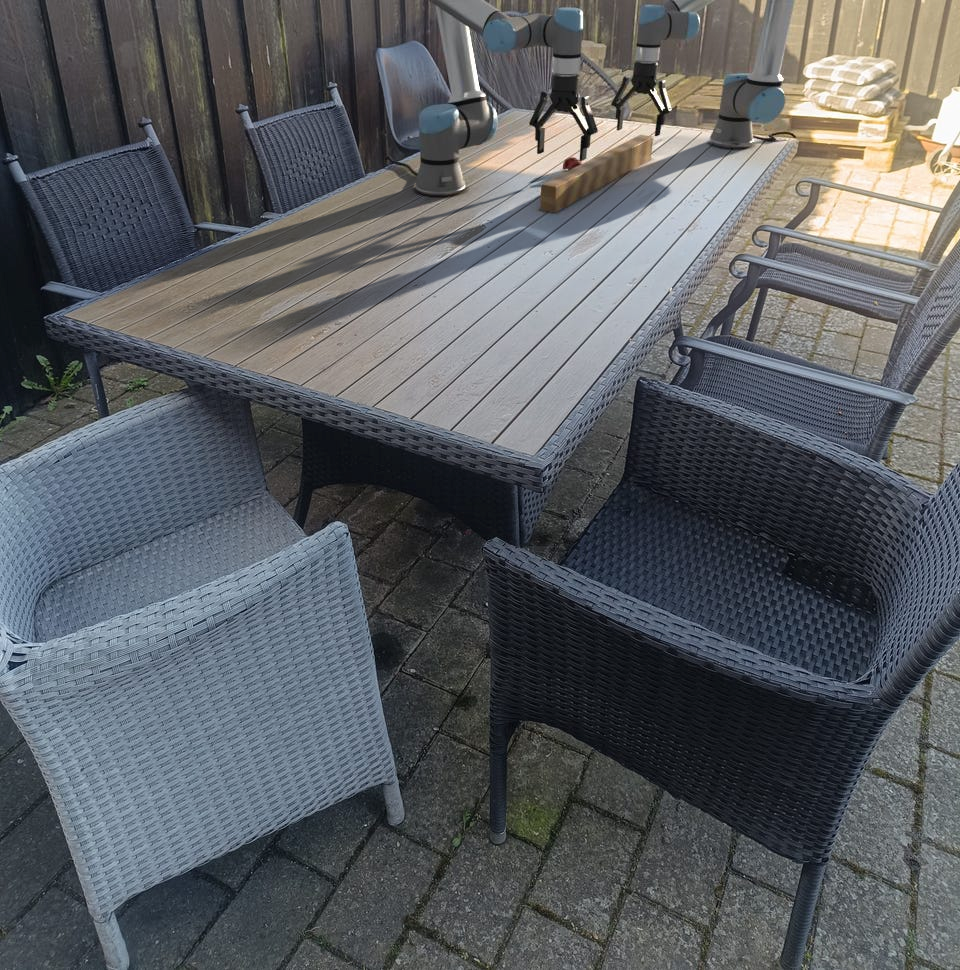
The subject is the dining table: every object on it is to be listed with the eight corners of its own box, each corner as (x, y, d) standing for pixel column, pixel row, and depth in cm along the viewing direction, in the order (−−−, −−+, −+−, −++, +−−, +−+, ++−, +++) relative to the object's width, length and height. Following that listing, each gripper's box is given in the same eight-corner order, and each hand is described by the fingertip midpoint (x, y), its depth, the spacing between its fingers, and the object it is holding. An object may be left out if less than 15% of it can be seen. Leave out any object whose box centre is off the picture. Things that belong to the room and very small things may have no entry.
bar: (554, 212, 240) (556, 187, 236) (539, 210, 243) (541, 184, 238) (651, 158, 287) (653, 136, 283) (638, 156, 289) (640, 134, 285)
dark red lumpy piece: (577, 153, 276) (586, 160, 270) (577, 167, 278) (585, 173, 272) (561, 155, 275) (569, 162, 269) (561, 168, 277) (569, 175, 271)
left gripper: (614, 76, 223) (607, 159, 235) (532, 67, 234) (529, 147, 246) (601, 81, 218) (595, 165, 230) (518, 71, 229) (516, 152, 241)
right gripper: (688, 63, 263) (678, 135, 275) (615, 55, 274) (608, 125, 286) (679, 67, 258) (669, 140, 270) (605, 58, 268) (599, 129, 281)
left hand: (561, 156), depth 238 cm, fingers open, 13 cm apart
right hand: (638, 132), depth 278 cm, fingers open, 13 cm apart
